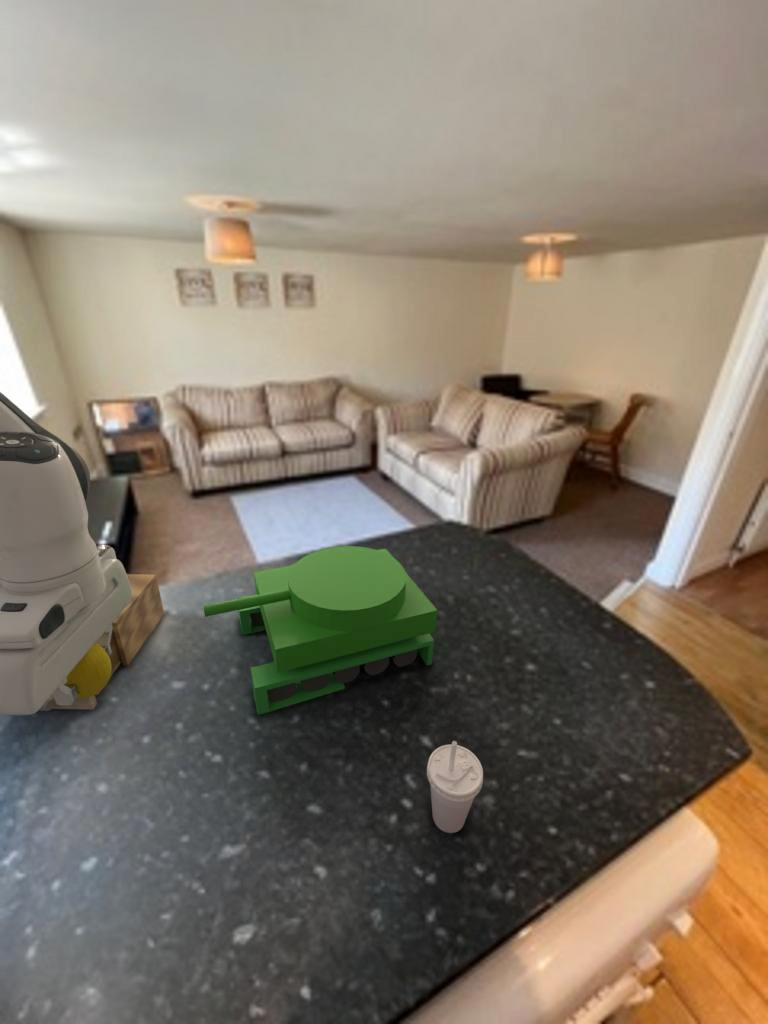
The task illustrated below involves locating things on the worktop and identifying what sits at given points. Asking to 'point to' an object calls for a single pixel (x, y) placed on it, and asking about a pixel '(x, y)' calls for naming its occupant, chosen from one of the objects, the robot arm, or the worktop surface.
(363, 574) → the tank
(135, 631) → the cabinet
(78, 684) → the lemon
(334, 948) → the worktop surface
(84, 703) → the drawer
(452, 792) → the smoothie
